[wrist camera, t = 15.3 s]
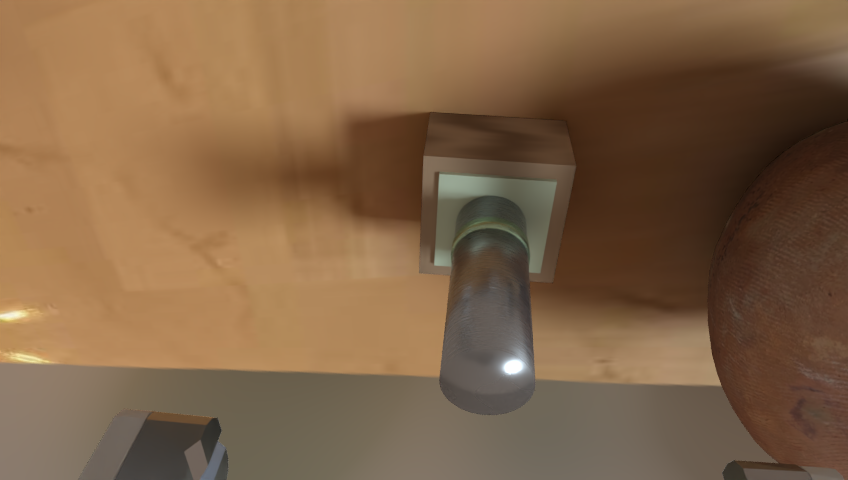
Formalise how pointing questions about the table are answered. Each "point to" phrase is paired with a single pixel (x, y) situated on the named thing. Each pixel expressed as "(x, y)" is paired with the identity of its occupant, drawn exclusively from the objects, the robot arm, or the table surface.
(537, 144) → the stand block
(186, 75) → the table surface
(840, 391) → the pottery
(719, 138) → the table surface
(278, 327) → the table surface
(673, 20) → the table surface
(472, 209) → the grey cylindrical bottle
